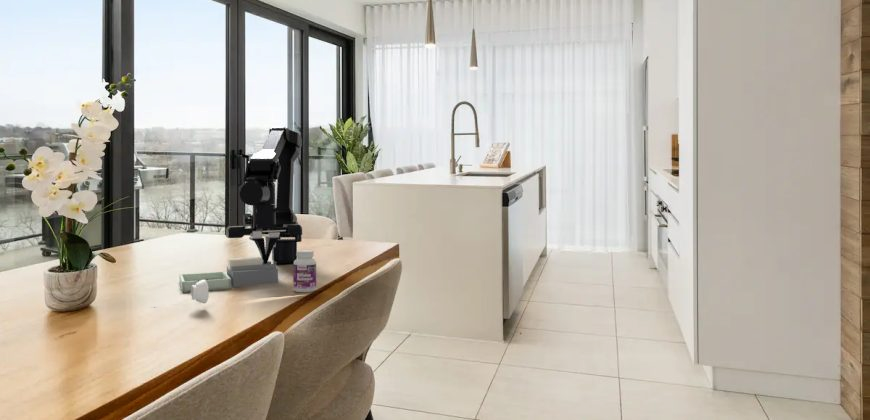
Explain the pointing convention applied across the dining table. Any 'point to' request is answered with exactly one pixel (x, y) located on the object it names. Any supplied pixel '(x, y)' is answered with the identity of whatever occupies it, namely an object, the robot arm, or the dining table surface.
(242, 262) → the tile
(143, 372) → the dining table surface
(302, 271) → the pill bottle
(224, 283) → the tray
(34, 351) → the dining table surface
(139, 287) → the dining table surface
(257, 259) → the tile
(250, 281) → the bench board
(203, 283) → the white flared knob
